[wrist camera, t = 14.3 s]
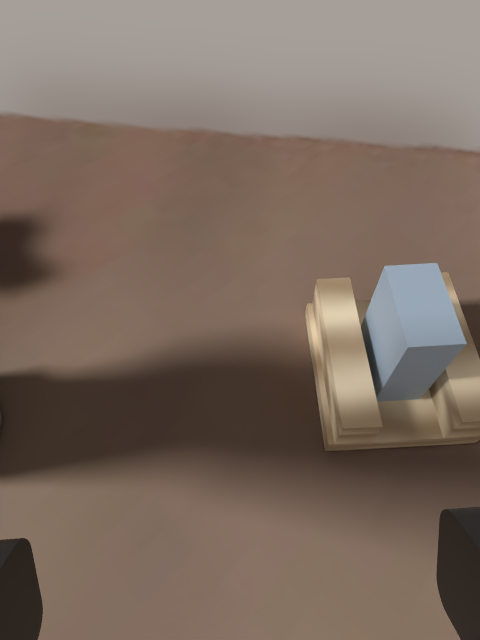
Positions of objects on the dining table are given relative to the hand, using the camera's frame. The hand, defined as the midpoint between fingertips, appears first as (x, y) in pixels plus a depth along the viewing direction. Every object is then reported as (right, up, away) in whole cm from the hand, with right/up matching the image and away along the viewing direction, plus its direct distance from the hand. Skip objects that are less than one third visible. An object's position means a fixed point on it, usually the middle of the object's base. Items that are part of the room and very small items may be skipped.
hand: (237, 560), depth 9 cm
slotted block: (+14, 0, +34) cm, 36 cm away
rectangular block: (+13, +1, +32) cm, 35 cm away
